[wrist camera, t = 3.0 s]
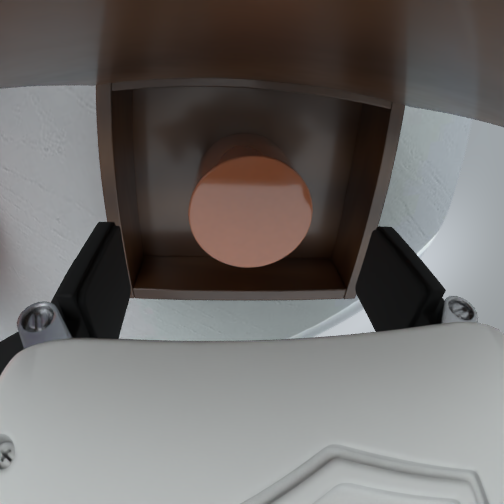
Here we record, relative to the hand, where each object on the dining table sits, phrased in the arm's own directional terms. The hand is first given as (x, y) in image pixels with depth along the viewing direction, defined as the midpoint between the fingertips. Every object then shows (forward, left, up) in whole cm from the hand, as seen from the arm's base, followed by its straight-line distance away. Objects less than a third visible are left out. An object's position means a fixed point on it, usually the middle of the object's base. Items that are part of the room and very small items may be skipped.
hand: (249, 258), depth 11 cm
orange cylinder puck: (0, 0, -8) cm, 8 cm away
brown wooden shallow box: (0, 0, -9) cm, 9 cm away
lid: (0, -7, +3) cm, 7 cm away
